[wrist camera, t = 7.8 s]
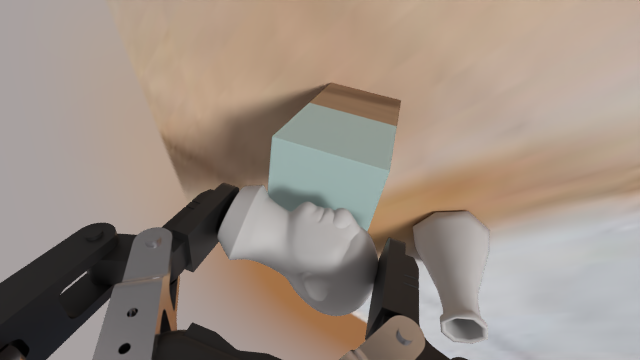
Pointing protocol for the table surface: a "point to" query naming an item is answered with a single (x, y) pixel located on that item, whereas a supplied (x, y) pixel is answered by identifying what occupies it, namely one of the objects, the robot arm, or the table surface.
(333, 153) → the tower top
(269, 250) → the mannequin head
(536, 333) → the table surface
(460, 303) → the flask
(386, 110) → the tower bottom
